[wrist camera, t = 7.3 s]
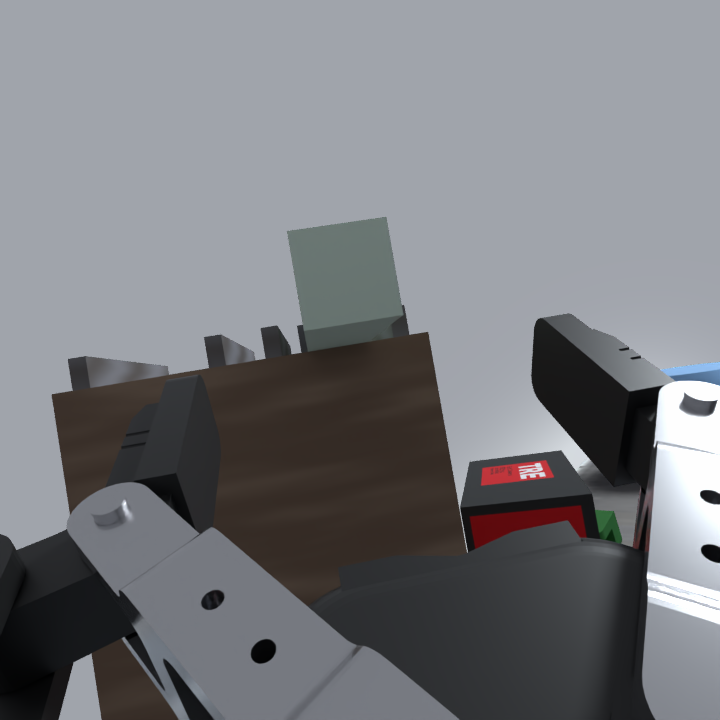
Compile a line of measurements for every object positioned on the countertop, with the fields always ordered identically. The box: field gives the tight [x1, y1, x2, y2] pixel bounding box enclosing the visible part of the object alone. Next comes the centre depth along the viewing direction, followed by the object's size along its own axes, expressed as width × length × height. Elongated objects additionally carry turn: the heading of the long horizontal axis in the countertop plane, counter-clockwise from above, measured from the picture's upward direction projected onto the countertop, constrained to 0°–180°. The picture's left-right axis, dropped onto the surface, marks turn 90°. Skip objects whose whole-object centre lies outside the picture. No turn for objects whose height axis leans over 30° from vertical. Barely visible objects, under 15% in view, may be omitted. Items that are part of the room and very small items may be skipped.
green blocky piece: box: [595, 510, 622, 544], centre depth 77 cm, size 12×6×9 cm, turn 39°
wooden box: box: [52, 305, 467, 720], centre depth 32 cm, size 14×18×34 cm
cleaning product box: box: [460, 451, 600, 552], centre depth 45 cm, size 16×9×20 cm, turn 166°
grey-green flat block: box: [287, 217, 403, 353], centre depth 29 cm, size 26×4×6 cm, turn 5°
